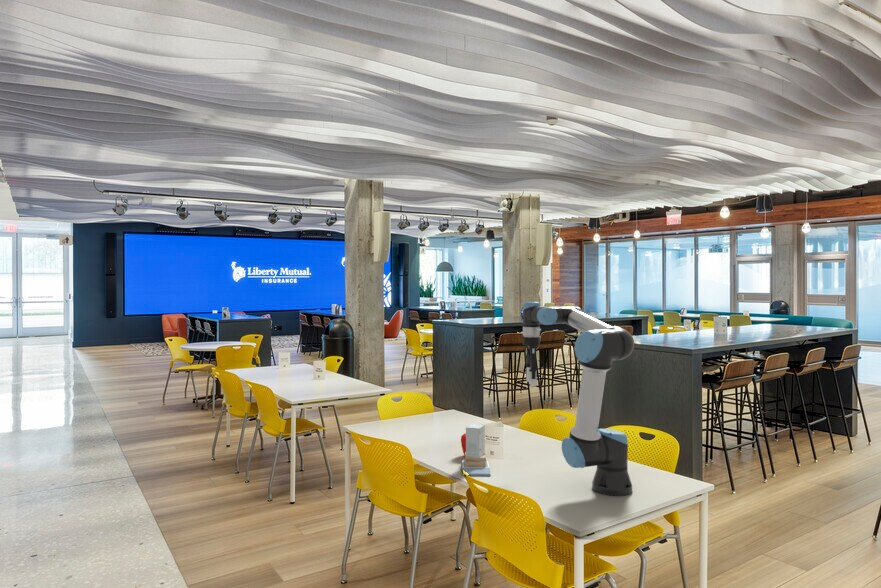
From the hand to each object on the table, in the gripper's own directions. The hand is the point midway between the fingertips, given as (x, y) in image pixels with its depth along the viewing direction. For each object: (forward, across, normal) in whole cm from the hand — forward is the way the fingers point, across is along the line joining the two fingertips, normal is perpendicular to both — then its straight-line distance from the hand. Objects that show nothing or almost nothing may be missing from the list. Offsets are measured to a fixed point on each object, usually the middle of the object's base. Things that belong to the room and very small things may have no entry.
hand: (531, 384), depth 261 cm
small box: (+32, -1, +25) cm, 41 cm away
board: (+37, -5, +25) cm, 45 cm away
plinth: (+36, -1, +25) cm, 44 cm away
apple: (+37, +15, +27) cm, 48 cm away
